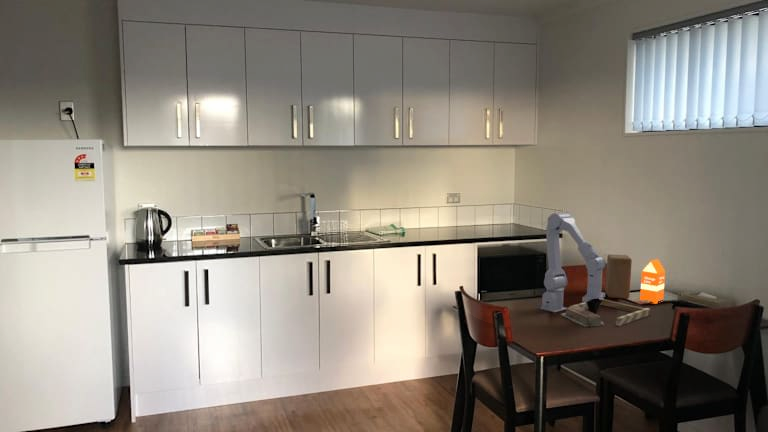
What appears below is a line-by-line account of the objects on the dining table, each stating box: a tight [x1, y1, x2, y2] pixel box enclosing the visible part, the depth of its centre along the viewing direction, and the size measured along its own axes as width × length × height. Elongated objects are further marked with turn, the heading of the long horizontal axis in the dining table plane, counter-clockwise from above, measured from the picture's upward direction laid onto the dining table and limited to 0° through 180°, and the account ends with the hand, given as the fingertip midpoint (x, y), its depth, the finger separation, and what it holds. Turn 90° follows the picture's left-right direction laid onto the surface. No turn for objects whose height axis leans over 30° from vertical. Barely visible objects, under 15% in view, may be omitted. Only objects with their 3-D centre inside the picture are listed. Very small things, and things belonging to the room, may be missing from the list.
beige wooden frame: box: [568, 297, 651, 327], centre depth 276 cm, size 26×24×3 cm
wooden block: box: [604, 254, 633, 299], centre depth 307 cm, size 10×10×20 cm
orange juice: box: [639, 258, 666, 305], centre depth 299 cm, size 8×9×20 cm
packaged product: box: [559, 305, 605, 328], centre depth 266 cm, size 18×5×10 cm
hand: (592, 315), depth 267 cm, fingers closed
